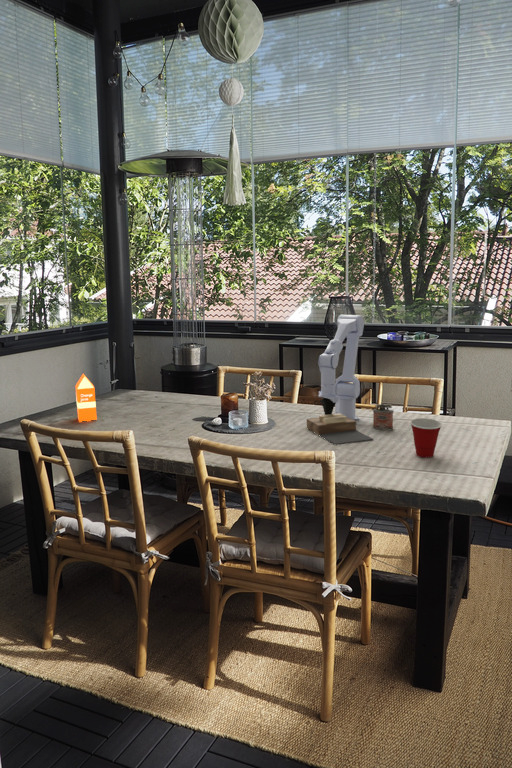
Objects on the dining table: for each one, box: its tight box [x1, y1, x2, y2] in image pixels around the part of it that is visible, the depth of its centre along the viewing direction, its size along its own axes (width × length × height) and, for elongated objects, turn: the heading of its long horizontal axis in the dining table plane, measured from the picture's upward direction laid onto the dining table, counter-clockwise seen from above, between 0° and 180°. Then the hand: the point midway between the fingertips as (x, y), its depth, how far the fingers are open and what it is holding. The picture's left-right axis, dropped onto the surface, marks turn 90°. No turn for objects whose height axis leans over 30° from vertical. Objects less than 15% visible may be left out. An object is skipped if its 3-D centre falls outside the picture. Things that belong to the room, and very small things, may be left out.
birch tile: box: [318, 413, 346, 424], centre depth 264 cm, size 6×9×2 cm, turn 109°
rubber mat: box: [318, 429, 374, 445], centre depth 255 cm, size 14×16×1 cm
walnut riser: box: [306, 417, 357, 436], centre depth 266 cm, size 12×16×4 cm
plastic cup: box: [409, 417, 443, 459], centre depth 229 cm, size 11×11×12 cm
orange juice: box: [75, 373, 98, 423], centre depth 292 cm, size 8×9×20 cm
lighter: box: [372, 403, 394, 431], centre depth 266 cm, size 8×3×10 cm, turn 70°
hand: (328, 416), depth 268 cm, fingers closed
